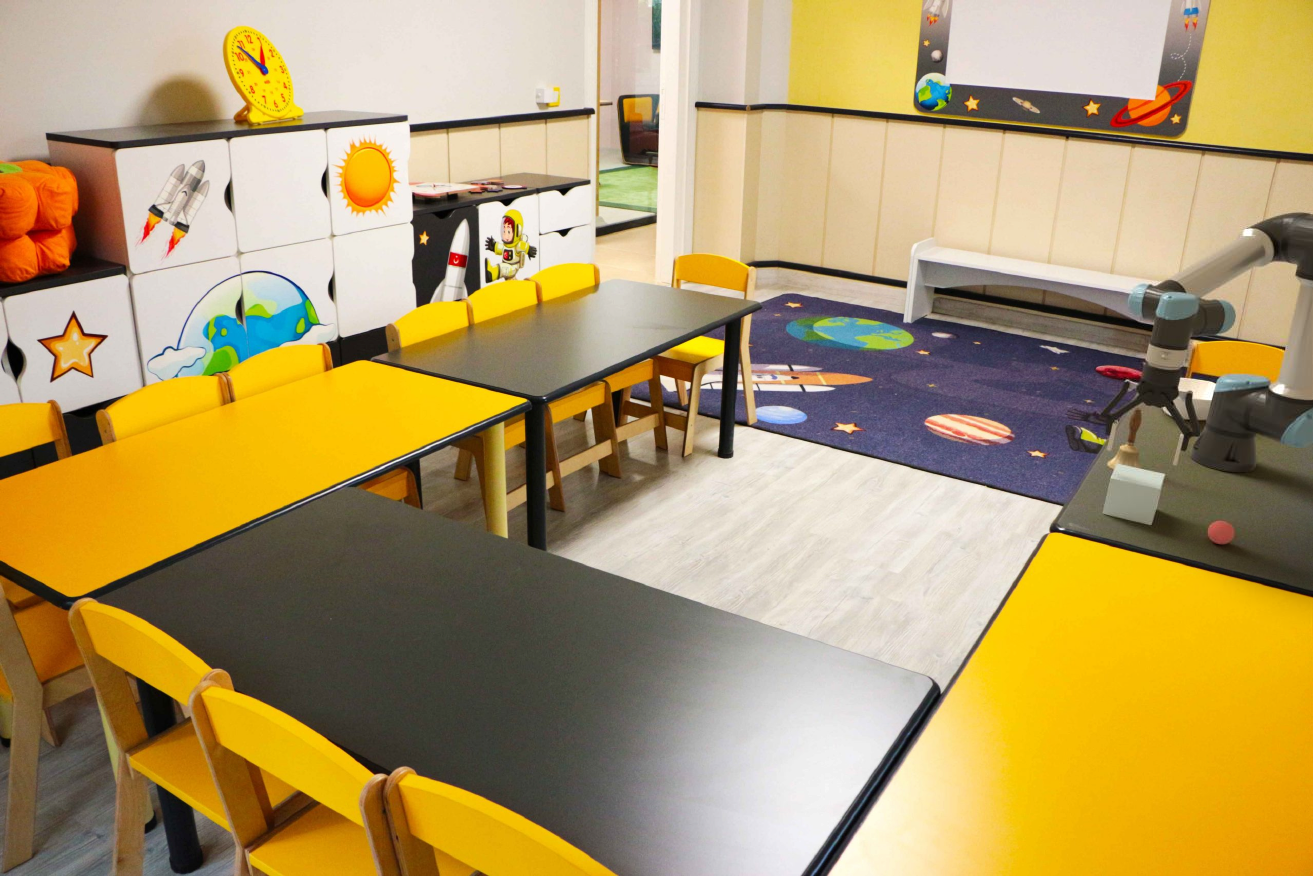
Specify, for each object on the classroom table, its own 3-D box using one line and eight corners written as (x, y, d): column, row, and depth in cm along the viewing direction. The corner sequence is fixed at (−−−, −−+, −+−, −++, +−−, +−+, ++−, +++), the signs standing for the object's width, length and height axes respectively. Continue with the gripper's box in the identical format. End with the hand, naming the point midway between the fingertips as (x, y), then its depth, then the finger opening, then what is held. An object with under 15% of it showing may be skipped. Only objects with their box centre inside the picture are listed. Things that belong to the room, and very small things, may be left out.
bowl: (1156, 424, 288) (1163, 396, 285) (1136, 401, 307) (1142, 374, 304) (1233, 431, 286) (1241, 402, 282) (1209, 407, 305) (1216, 380, 301)
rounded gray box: (1109, 498, 238) (1116, 463, 235) (1156, 509, 234) (1165, 474, 231) (1102, 513, 230) (1110, 478, 227) (1151, 525, 226) (1160, 489, 222)
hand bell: (1146, 476, 252) (1160, 415, 247) (1110, 472, 254) (1124, 412, 248) (1138, 463, 260) (1152, 404, 254) (1104, 459, 261) (1116, 401, 256)
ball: (1214, 535, 222) (1220, 515, 220) (1236, 545, 218) (1242, 524, 216) (1200, 540, 219) (1205, 519, 218) (1222, 550, 215) (1227, 529, 214)
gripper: (1099, 357, 222) (1080, 448, 230) (1227, 380, 210) (1202, 474, 218) (1104, 350, 228) (1085, 438, 236) (1229, 372, 217) (1204, 464, 224)
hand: (1141, 456), depth 227 cm, fingers open, 13 cm apart
